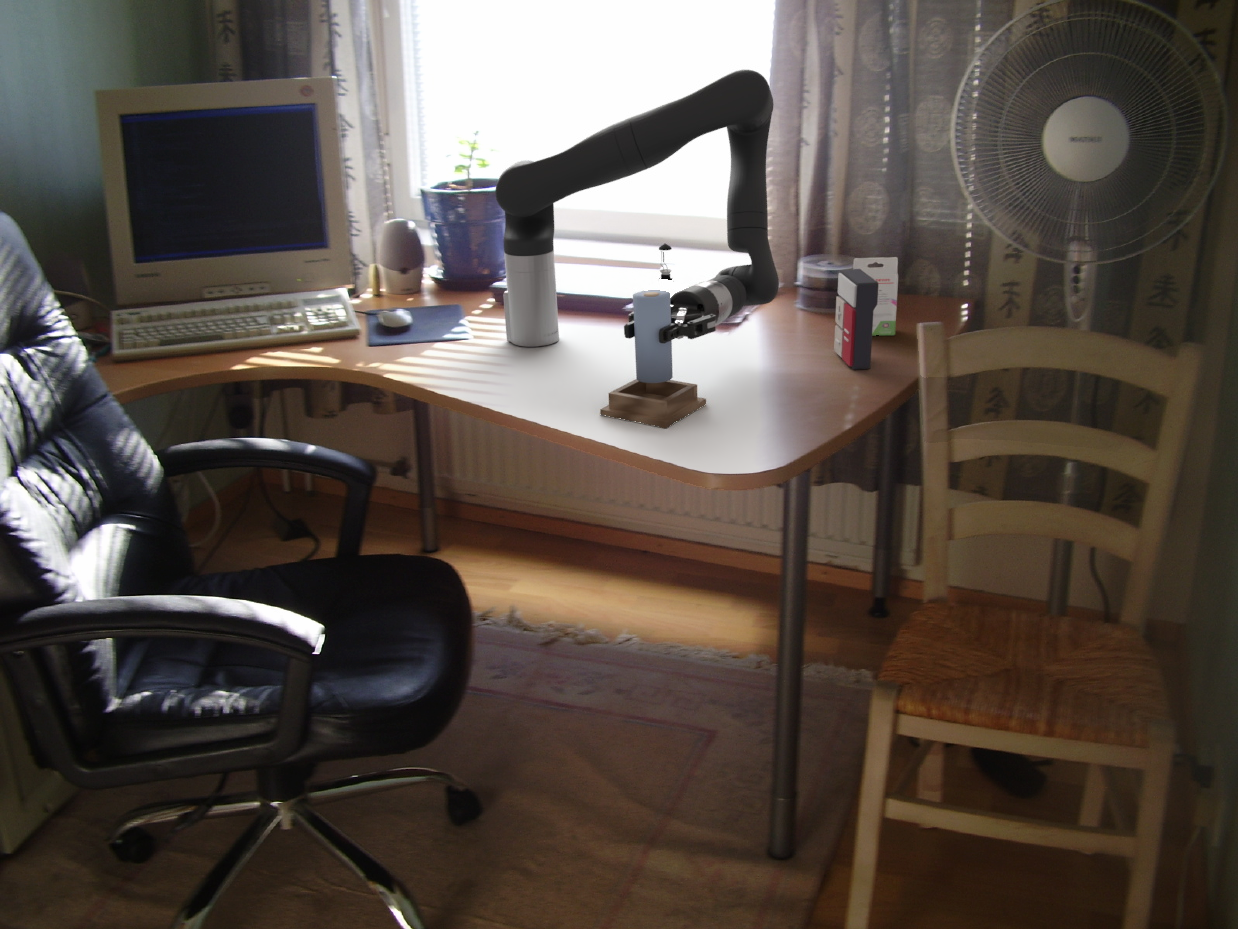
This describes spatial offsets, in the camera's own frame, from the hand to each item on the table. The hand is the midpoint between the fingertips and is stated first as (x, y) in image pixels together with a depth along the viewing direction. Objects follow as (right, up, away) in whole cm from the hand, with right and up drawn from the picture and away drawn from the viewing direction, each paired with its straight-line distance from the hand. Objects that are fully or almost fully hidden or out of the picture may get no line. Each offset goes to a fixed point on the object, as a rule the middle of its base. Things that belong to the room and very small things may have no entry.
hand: (643, 334), depth 162 cm
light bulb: (+6, +16, +71) cm, 73 cm away
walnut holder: (+2, -11, +7) cm, 13 cm away
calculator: (+37, -2, +27) cm, 46 cm away
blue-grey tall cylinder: (+2, -6, +5) cm, 8 cm away
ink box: (+44, +5, +42) cm, 61 cm away
